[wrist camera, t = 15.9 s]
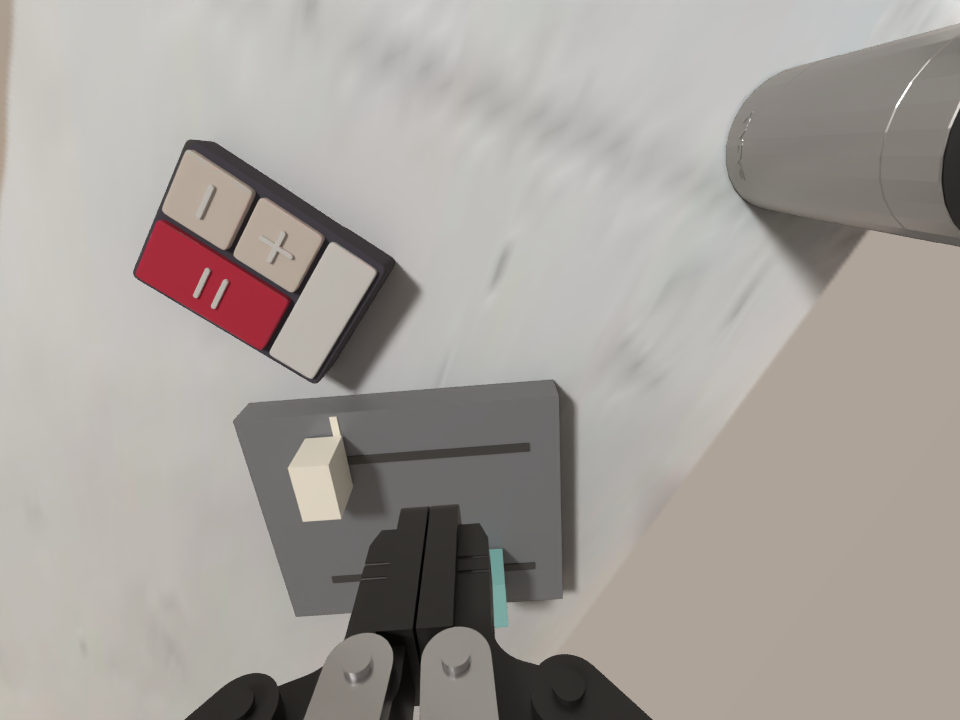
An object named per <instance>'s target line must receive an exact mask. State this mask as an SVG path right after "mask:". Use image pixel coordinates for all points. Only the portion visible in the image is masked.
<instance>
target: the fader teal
mask: <svg viewBox="0 0 960 720" xmlns="http://www.w3.org/2000/svg"><path fill="white" fill-rule="evenodd" d="M489 551H490V562H491V572H492V585H493V607H494V628H499V627H508V614H507V601H506V587H505V575H504V563H503V550H502V549H489Z"/></svg>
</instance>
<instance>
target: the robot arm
mask: <svg viewBox="0 0 960 720" xmlns="http://www.w3.org/2000/svg"><path fill="white" fill-rule="evenodd" d="M726 165H727V170H728V175H729V177H730V180H731V182H732V184H733V186H734V188H735V189H736V190H737V192H738V193H739V194H740V195H741V197H742V198H744V199H745V200H746V201H748V202H749V203H751V204H752V205H755V206H757V207H760V208H762V209H767V210H772V211H777V212H782V213H787V214H793V215H797V216H802V217H807V218H812V219H817V220H822V221H827V222H833V223H838V224H843V225H848V226H853V227H859V228H864V229H869V230H874V231H879V232H885V233H890V234H895V235H900V236H905V237H910V238H916V239H921V240H926V241H931V242H936V243H944V244H949V245H954V246H959V247H960V23H959V24H955V25H951V26H948V27H944V28H940V29H936V30H933V31H929V32H925V33H922V34H918V35H914V36H910V37H907V38H903V39H899V40H895V41H892V42H888V43H884V44H880V45H877V46H873V47H869V48H865V49H862V50H858V51H854V52H850V53H847V54H843V55H839V56H835V57H831V58H827V59H823V60H820V61H816V62H812V63H809V64H805V65H801V66H798V67H794V68H791V69H788V70H785V71H782V72H780V73H778V74H777V75H775V76H773V77H771V78H769V79H768V80H767V81H765V82H764V83H763V84H762V85H760V86H759V87H758V88H757V89H756V90H755V91H754V92H753V93H752V94H751V95H750V96H749V98H748V99H747V100H746V101H745V102H744V104H743V105H742V107H741V109H740V110H739V112H738V113H737V115H736V117H735V119H734V122H733V124H732V127H731V129H730V132H729V136H728V141H727V146H726ZM414 706H420V715H419V720H652V719H651V718H650V717H649V716H648V715H647V714H646V713H644V711H643V710H641V709H640V708H639V707H638V706H637V705H636V704H635V703H634V702H632V701H631V700H630V699H629V698H628V697H627V696H626V695H625V694H624V693H623V692H622V691H620V690H619V689H618V688H617V687H616V686H615V685H614V684H613V683H612V682H611V681H609V680H608V679H607V678H606V677H605V676H604V675H603V674H602V673H601V672H600V671H598V670H597V669H596V668H595V667H594V666H593V665H591V664H590V663H589V662H588V661H586V660H584V659H583V658H580V657H577V656H574V655H568V654H561V655H555V656H552V657H550V658H548V659H546V660H544V661H543V662H542V663H541V664H540V665H535V664H532V663H528V662H524V661H521V660H518V659H516V658H514V657H512V656H510V655H509V654H507V653H506V652H505V651H504V650H503V649H502V648H501V647H500V646H499V645H498V643H497V642H496V640H495V630H494V607H493V585H492V572H491V562H490V551H489V541H488V536H487V535H486V533H485V531H484V530H483V528H482V526H481V525H480V523H474V524H462V522H461V513H460V506H459V504H451V505H437V506H431V508H430V506H425V507H411V508H402V509H401V511H400V515H399V520H398V525H397V529H392V530H381V532H380V533H379V534H378V536H377V537H376V538H375V539H374V541H373V542H372V543H371V545H370V546H369V550H368V553H367V557H366V561H365V567H364V569H363V572H362V576H361V581H360V584H359V587H358V591H357V595H356V599H355V602H354V606H353V610H352V614H351V618H350V621H349V625H348V629H347V633H346V636H345V639H344V641H342V642H341V643H340V644H338V645H337V646H336V647H335V648H334V649H333V650H332V652H331V653H330V654H329V656H328V657H327V659H326V661H325V663H324V666H323V667H321V668H320V669H318V670H317V671H315V672H313V673H311V674H309V675H306V676H304V677H301V678H299V679H296V680H293V681H291V682H288V683H286V684H283V685H280V686H277V684H276V682H275V681H274V679H273V678H271V677H270V676H268V675H266V674H261V673H252V674H247V675H244V676H241V677H239V678H236V679H234V680H233V681H231V682H229V683H228V684H226V685H225V686H224V687H222V688H221V689H220V690H219V691H218V692H216V693H215V694H214V695H213V696H212V697H211V698H209V699H208V700H207V701H206V702H205V703H204V704H202V705H201V706H200V707H199V708H198V709H197V710H195V711H194V712H193V713H192V714H191V715H189V716H188V717H187V718H186V719H185V720H413V712H414Z"/></svg>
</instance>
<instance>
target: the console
mask: <svg viewBox="0 0 960 720" xmlns="http://www.w3.org/2000/svg"><path fill="white" fill-rule="evenodd" d="M233 423H234V426H235V429H236V432H237V435H238V438H239V441H240V444H241V448H242V451H243V454H244V457H245V460H246V463H247V466H248V469H249V472H250V476H251V479H252V482H253V485H254V488H255V491H256V494H257V497H258V500H259V504H260V507H261V510H262V513H263V516H264V519H265V522H266V525H267V528H268V532H269V535H270V538H271V541H272V544H273V547H274V550H275V553H276V556H277V559H278V563H279V566H280V569H281V572H282V575H283V578H284V581H285V584H286V587H287V591H288V594H289V597H290V600H291V603H292V606H293V609H294V612H295V615H296V617H300V616H315V615H329V614H344V613H352V610H353V606H354V602H355V599H356V595H357V591H358V587H359V584H360V581H361V576H362V572H363V569H364V567H365V561H366V557H367V553H368V550H369V546H370V545H371V543H372V542H373V541H374V539H375V538H376V537H377V536H378V534H379V533H380V532H381V530H392V529H397V525H398V520H399V515H400V511H401V509H402V508H411V507H425V506H430V508H431V506H437V505H451V504H459V506H460V513H461V522H462V524H474V523H480V525H481V526H482V528H483V530H484V531H485V533H486V535H487V536H488V541H489V549H502V550H503V563H504V575H505V587H506V601H507V602H520V601H534V600H549V599H563V589H562V535H561V481H560V427H559V395H558V392H557V389H556V386H555V383H554V381H553V380H541V381H528V382H516V383H503V384H490V385H477V386H464V387H451V388H438V389H425V390H412V391H399V392H387V393H374V394H361V395H348V396H335V397H322V398H309V399H296V400H283V401H271V402H258V403H249V404H248V405H247V406H246V407H245V408H244V409H243V410H242V411H241V413H240V414H239V415H238V416H237V417H236V418H235V419H234V420H233ZM333 436H342V438H343V443H344V447H345V452H346V456H347V461H348V465H349V470H350V474H351V479H352V483H353V488H352V491H351V494H350V497H349V499H348V502H347V505H346V508H345V510H344V513H343V516H342V519H336V520H322V521H308V522H303V521H302V517H301V513H300V510H299V506H298V503H297V499H296V496H295V492H294V489H293V485H292V482H291V478H290V475H289V471H288V467H289V465H290V463H291V462H292V460H293V458H294V457H295V455H296V453H297V452H298V450H299V448H300V446H301V445H302V443H303V441H304V440H305V439H307V438H320V437H333Z"/></svg>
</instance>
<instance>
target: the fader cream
mask: <svg viewBox="0 0 960 720" xmlns="http://www.w3.org/2000/svg"><path fill="white" fill-rule="evenodd" d="M288 471H289V475H290V478H291V482H292V485H293V489H294V492H295V496H296V499H297V503H298V506H299V510H300V513H301V517H302V521H303V522H308V521H322V520H336V519H342V516H343V513H344V510H345V508H346V505H347V502H348V499H349V497H350V494H351V491H352V488H353V483H352V479H351V474H350V470H349V465H348V461H347V456H346V452H345V447H344V443H343V438H342V436H333V437H320V438H307V439H305V440H304V441H303V443H302V445H301V446H300V448H299V450H298V452H297V453H296V455H295V457H294V458H293V460H292V462H291V463H290V465H289V467H288Z"/></svg>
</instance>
